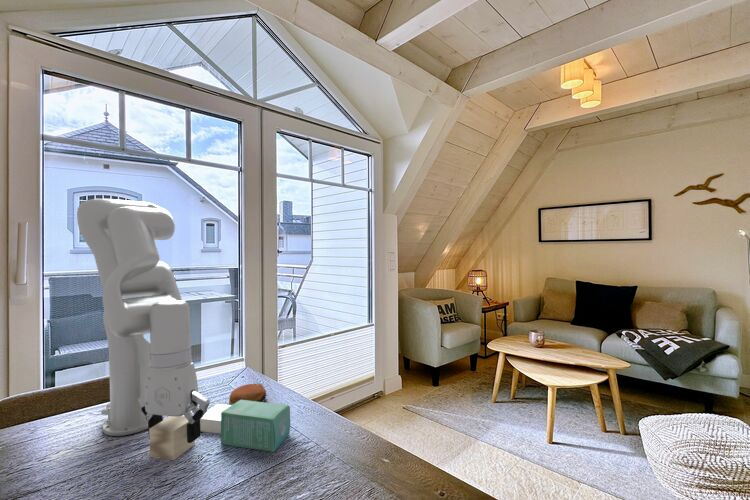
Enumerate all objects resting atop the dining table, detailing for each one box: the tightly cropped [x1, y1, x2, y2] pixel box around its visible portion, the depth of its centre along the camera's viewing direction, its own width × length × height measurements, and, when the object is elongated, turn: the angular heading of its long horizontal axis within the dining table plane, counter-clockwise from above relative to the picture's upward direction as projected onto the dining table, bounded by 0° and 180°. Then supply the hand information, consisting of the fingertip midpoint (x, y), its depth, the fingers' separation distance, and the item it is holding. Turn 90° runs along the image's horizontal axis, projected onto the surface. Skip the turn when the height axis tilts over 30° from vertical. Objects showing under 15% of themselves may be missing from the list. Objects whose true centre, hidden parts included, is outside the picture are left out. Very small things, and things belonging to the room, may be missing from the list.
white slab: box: [200, 403, 231, 435], centre depth 87 cm, size 8×8×3 cm
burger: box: [228, 383, 268, 405], centre depth 99 cm, size 10×9×5 cm
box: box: [220, 400, 291, 453], centre depth 79 cm, size 7×14×8 cm, turn 76°
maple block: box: [148, 415, 196, 461], centre depth 76 cm, size 6×6×6 cm
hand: (174, 438), depth 75 cm, fingers open, 9 cm apart
